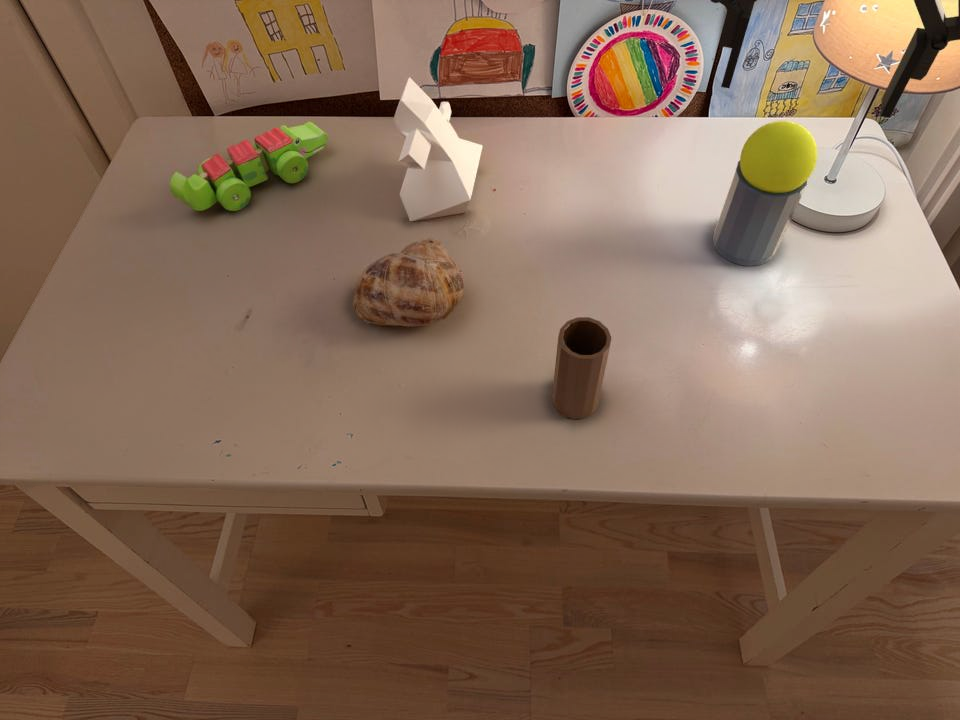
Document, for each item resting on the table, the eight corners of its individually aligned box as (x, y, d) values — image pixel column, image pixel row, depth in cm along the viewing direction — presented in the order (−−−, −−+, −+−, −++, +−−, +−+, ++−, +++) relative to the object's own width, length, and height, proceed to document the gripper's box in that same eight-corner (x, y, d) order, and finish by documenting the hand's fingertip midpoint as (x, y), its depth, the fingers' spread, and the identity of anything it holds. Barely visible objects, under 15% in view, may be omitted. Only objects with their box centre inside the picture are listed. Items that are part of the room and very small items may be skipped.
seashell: (415, 243, 79) (439, 211, 69) (460, 310, 79) (489, 287, 70) (337, 290, 75) (350, 262, 66) (384, 360, 75) (404, 342, 66)
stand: (607, 408, 67) (621, 347, 59) (565, 426, 66) (574, 366, 58) (584, 374, 69) (595, 310, 61) (543, 390, 68) (549, 327, 60)
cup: (789, 253, 77) (822, 183, 69) (737, 274, 76) (765, 204, 68) (750, 214, 81) (778, 143, 73) (700, 233, 80) (723, 162, 71)
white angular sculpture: (486, 155, 88) (483, 53, 77) (468, 233, 81) (463, 134, 69) (420, 150, 89) (408, 49, 78) (397, 227, 81) (380, 128, 70)
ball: (817, 195, 71) (844, 142, 65) (756, 218, 70) (777, 166, 64) (778, 151, 74) (799, 96, 68) (719, 172, 73) (735, 118, 67)
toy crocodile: (314, 136, 92) (303, 95, 87) (341, 162, 88) (331, 121, 83) (173, 203, 85) (152, 162, 80) (196, 233, 82) (176, 193, 77)
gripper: (1131, -200, 45) (955, 96, 62) (733, -232, 50) (674, 47, 68) (1149, -156, 41) (956, 147, 58) (715, -197, 46) (657, 90, 64)
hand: (804, 94), depth 63 cm, fingers open, 13 cm apart
